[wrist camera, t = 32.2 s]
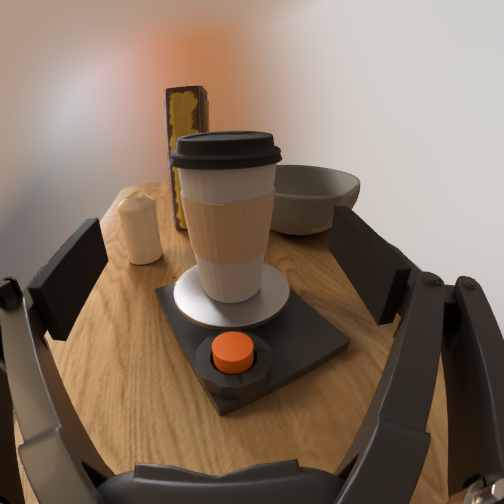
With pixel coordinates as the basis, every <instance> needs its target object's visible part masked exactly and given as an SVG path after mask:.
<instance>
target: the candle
mask: <svg viewBox="0 0 504 504" xmlns="http://www.w3.org/2000/svg"><path fill="white" fill-rule="evenodd" d="M118 212H119V217H120V222H121V227H122V232H123V237H124V242H125V246H126V251H127V255H128V259H129V261H130V262H131V263H133V264H137V265H143V264H149V263H152V262H154V261H156V260H158V259H159V258H160V257H161V255H162V248H161V242H160V236H159V229H158V223H157V216H156V209H155V201H154V199H152V198H151V197H149V196H148V195H146V194H144V193H143V192H141V191H137V192H134V193H132V194H131V195H130V196H129V197H126V198H124V200H123V201H122V202H121V203H120V205H119V206H118Z"/></svg>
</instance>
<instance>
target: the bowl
mask: <svg viewBox="0 0 504 504" xmlns="http://www.w3.org/2000/svg"><path fill="white" fill-rule="evenodd" d="M274 188H275V194H274V202H273V210H272V217H271V225H270V229H272V230H275V231H278V232H281V233H285V234H290V235H310V234H315V233H319V232H323V231H325V230H328V229H330V228H332V222H333V213H334V206H348V207H349V208H350V209H352V208H353V206H354V204H355V203H356V201H357V198H358V195H359V192H360V181H359V179H358V178H357V177H355V176H354V175H351V174H349V173H346V172H342V171H338V170H333V169H328V168H322V167H315V166H304V165H276V172H275V180H274Z"/></svg>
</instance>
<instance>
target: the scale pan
mask: <svg viewBox="0 0 504 504" xmlns="http://www.w3.org/2000/svg"><path fill="white" fill-rule="evenodd" d="M289 293H290V287H289V283H288V280H287V279H286V277H285V276H284V274H283V273H282V272H281V271H280V270H278V269H277V268H275V267H274V266H272V265H270V264H268V263H266V262H264V264H263V271H262V278H261V285H260V289H259V290H258V292H257V293H256V294H255V295H254V296H252V297H251V298H249V299H247V300H245V301H242V302H238V303H223V302H219V301H216V300H214V299H212V298H211V297H209V296H208V295H207V294H206V293H205V291H204V289H203V285H202V281H201V277H200V273H199V269H198V265H196V266H194V267H192V268H190V269H189V270H187V271H186V272H185V273H184V274H183V275H182V276H181V277H180V278H179V279H178V281H177V283H176V285H175V288H174V299H175V304H176V306H177V308H178V310H179V311H180V313H181V314H182V315H183V316H184V317H185V318H187V319H188V320H189V321H191V322H193V323H195V324H196V325H199V326H202V327H204V328H208V329H212V330H219V331H239V330H246V329H250V328H254V327H257V326H260V325H263V324H265V323H267V322H269V321H270V320H272V319H274V318H275V317H276V316H277V315H279V314H280V313H281V312H282V310H283V309H284V308H285V306H286V305H287V303H288V300H289Z"/></svg>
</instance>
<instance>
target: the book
mask: <svg viewBox="0 0 504 504" xmlns="http://www.w3.org/2000/svg"><path fill="white" fill-rule="evenodd" d="M164 103H165V126H166V143H167V157H168V169H169V180H170V190H171V200H172V209H173V218H174V226H175V228H176V230H180V231H188V228H187V224H186V219H185V214H184V210H183V205H182V200H181V195H180V192H181V185H180V180H179V175H178V169H177V168H176V167H173V166H171V165H170V164H169V162H170V159H171V157H170V153H171V152H172V151H174V150H176V146H177V139H178V138H179V137H182V136H186V135H191V134H197V133H206V132H209V101H207V91H206V90H205V89H204V88H203V87H202V86H186V87H176V88H168V89H165V90H164Z"/></svg>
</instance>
